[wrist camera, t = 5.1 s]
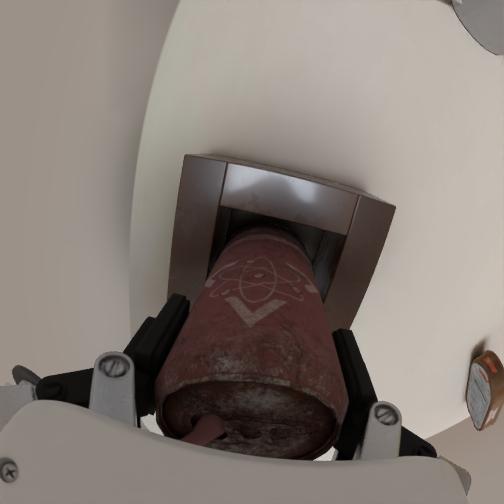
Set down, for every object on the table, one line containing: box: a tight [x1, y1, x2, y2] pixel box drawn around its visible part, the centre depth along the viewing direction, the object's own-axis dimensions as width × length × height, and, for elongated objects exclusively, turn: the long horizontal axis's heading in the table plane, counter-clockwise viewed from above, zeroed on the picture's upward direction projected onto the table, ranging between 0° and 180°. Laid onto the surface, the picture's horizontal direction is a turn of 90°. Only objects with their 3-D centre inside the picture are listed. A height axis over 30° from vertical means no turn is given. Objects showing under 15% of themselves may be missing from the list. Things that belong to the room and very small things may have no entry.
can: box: [154, 222, 349, 461], centre depth 13 cm, size 6×6×14 cm
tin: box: [466, 350, 504, 431], centre depth 22 cm, size 15×3×8 cm, turn 27°
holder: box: [167, 154, 396, 333], centre depth 19 cm, size 12×12×6 cm
